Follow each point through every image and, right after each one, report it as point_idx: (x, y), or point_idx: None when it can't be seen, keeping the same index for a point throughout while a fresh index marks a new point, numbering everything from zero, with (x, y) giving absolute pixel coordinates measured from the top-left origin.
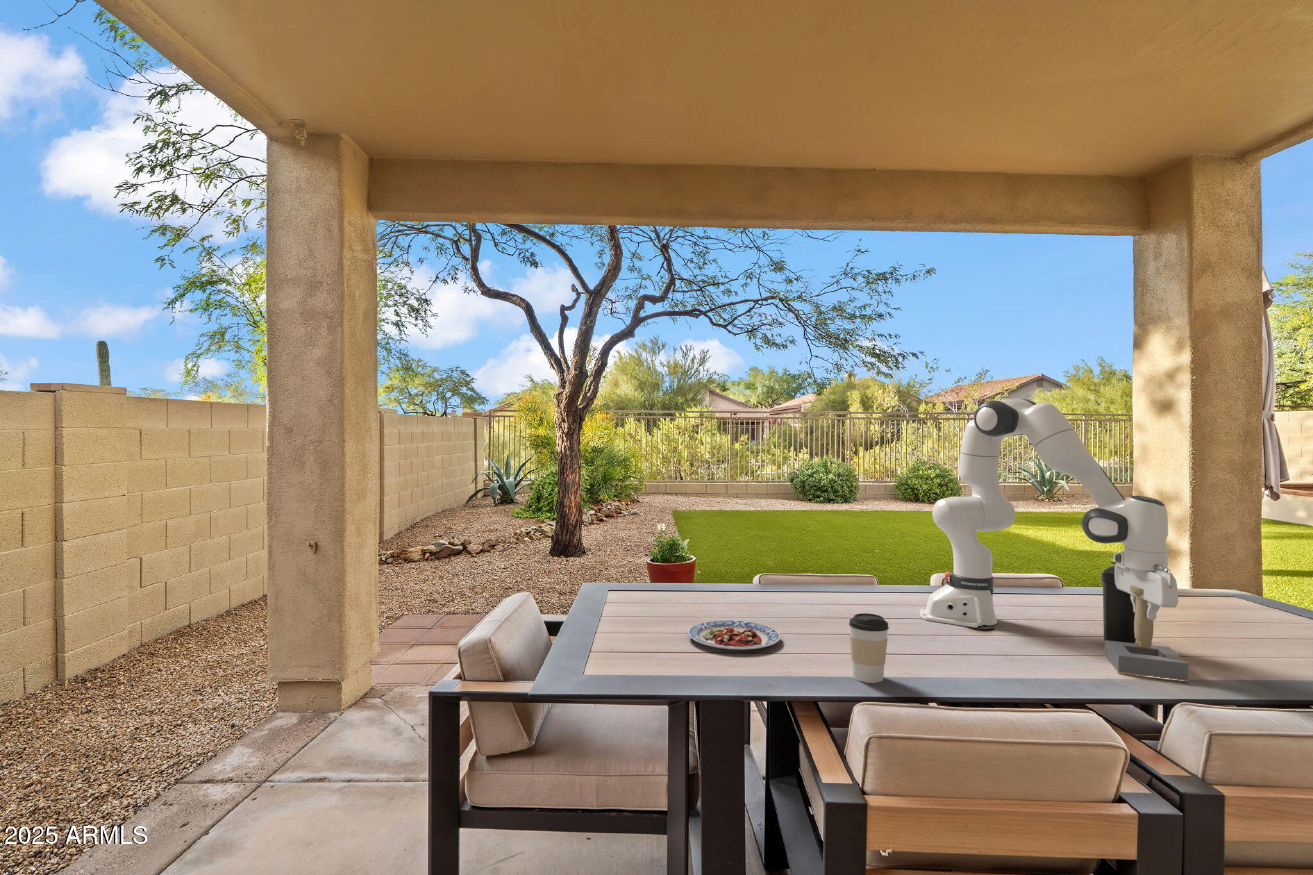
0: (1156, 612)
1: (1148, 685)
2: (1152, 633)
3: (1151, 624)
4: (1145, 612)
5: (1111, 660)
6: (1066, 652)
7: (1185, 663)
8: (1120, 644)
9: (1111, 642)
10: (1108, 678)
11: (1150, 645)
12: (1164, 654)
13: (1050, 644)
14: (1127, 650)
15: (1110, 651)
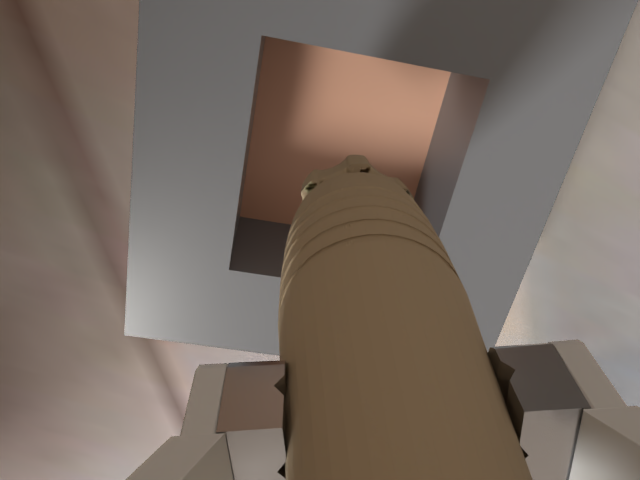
0: (638, 411)
1: (624, 244)
2: (420, 217)
3: (464, 293)
4: None
5: None
6: (134, 417)
7: (635, 1)
8: (206, 275)
9: (174, 314)
10: None
11: (402, 183)
12: (412, 58)
13: (6, 443)
14: None
15: None
